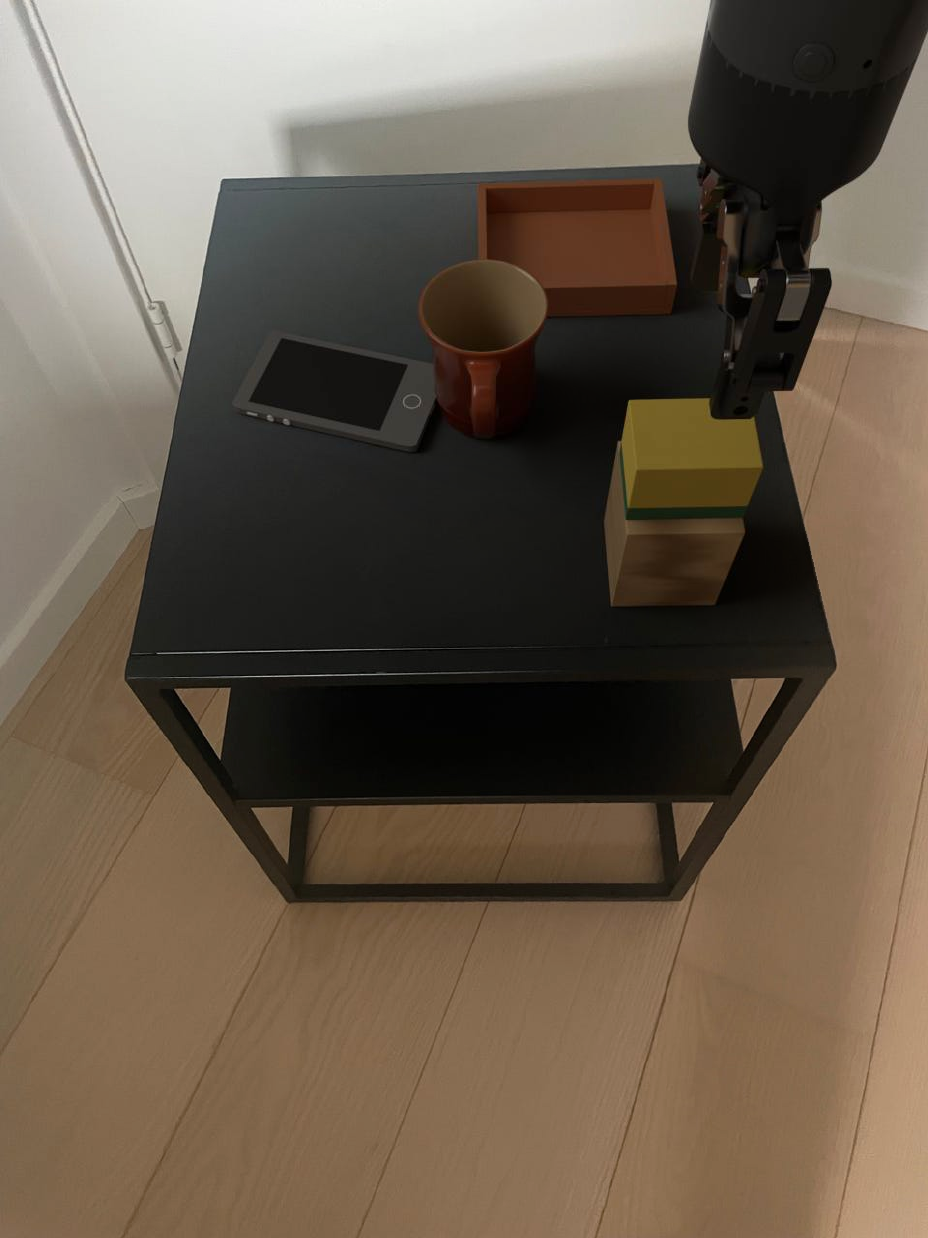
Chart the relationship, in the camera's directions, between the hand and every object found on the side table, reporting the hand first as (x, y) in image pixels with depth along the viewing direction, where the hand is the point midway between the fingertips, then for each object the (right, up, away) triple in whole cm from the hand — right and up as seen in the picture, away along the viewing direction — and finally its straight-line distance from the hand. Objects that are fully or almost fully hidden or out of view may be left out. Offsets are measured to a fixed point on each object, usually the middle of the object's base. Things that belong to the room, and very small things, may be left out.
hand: (720, 346), depth 48 cm
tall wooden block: (+1, -10, +18) cm, 21 cm away
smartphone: (-22, +4, +26) cm, 35 cm away
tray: (-4, +16, +32) cm, 36 cm away
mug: (-11, +1, +24) cm, 27 cm away
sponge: (0, -6, +10) cm, 12 cm away
